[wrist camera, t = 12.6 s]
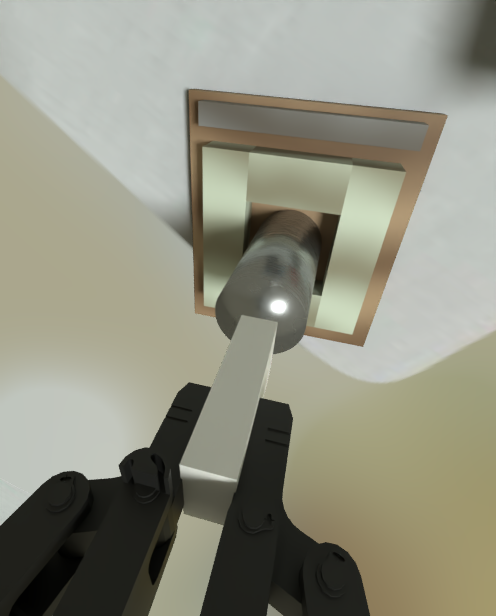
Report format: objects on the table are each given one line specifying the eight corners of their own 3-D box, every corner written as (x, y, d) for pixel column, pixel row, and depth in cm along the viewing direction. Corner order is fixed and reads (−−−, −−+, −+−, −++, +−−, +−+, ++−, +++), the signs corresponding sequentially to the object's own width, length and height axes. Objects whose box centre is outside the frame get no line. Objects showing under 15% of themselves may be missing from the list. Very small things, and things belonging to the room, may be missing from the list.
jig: (194, 89, 20) (174, 91, 18) (443, 113, 18) (458, 120, 16) (199, 306, 29) (186, 327, 27) (362, 338, 27) (364, 364, 25)
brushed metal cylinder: (258, 206, 22) (213, 271, 15) (326, 213, 21) (312, 286, 14) (256, 265, 25) (216, 344, 18) (316, 274, 24) (300, 361, 17)
